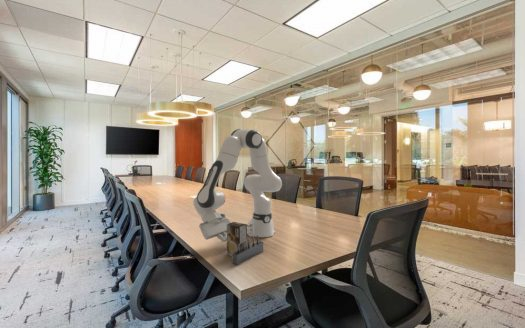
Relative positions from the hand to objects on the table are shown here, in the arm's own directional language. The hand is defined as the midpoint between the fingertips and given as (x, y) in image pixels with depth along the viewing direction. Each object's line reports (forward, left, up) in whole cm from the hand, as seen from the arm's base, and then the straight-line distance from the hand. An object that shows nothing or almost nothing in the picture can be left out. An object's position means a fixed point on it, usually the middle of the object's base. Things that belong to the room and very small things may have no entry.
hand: (225, 240), depth 139 cm
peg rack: (+14, +7, -5) cm, 17 cm away
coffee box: (+8, +3, -6) cm, 10 cm away
